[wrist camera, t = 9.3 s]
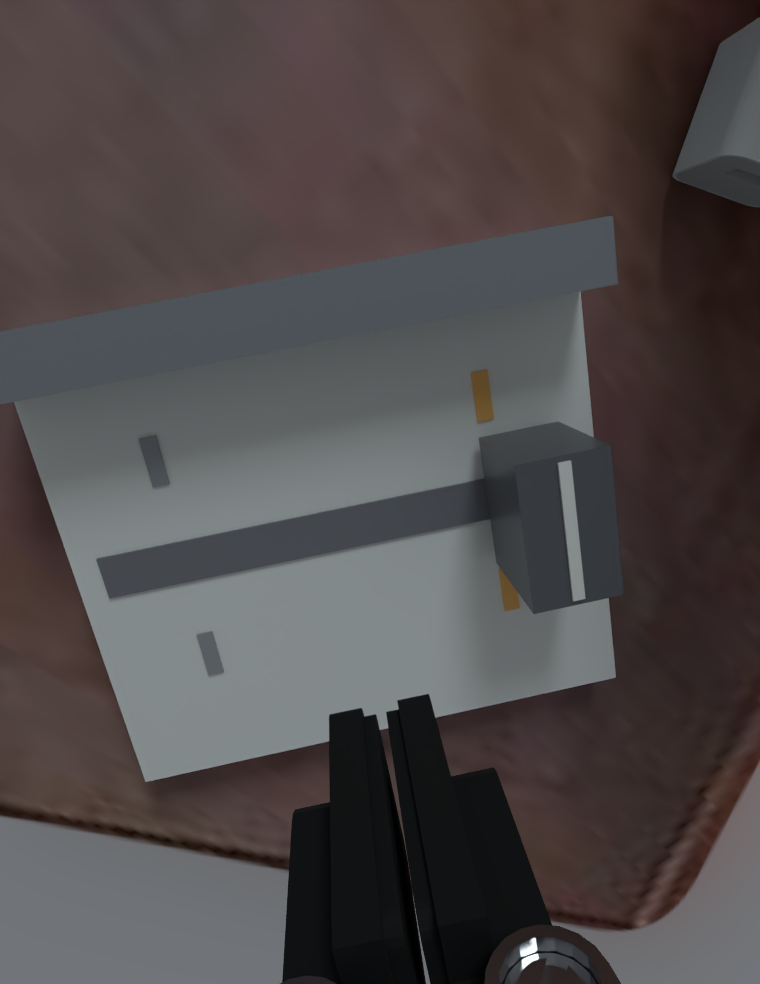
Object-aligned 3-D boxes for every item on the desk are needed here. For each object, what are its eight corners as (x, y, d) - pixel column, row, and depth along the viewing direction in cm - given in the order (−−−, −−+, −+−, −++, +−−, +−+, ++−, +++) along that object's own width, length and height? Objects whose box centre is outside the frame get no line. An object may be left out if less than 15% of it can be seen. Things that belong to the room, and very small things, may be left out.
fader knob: (558, 421, 24) (612, 445, 19) (571, 547, 25) (625, 595, 21) (478, 437, 24) (515, 466, 19) (496, 563, 25) (534, 615, 21)
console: (553, 234, 24) (613, 214, 19) (595, 653, 29) (651, 720, 25) (18, 336, 23) (-58, 342, 19) (156, 750, 28) (125, 839, 24)
